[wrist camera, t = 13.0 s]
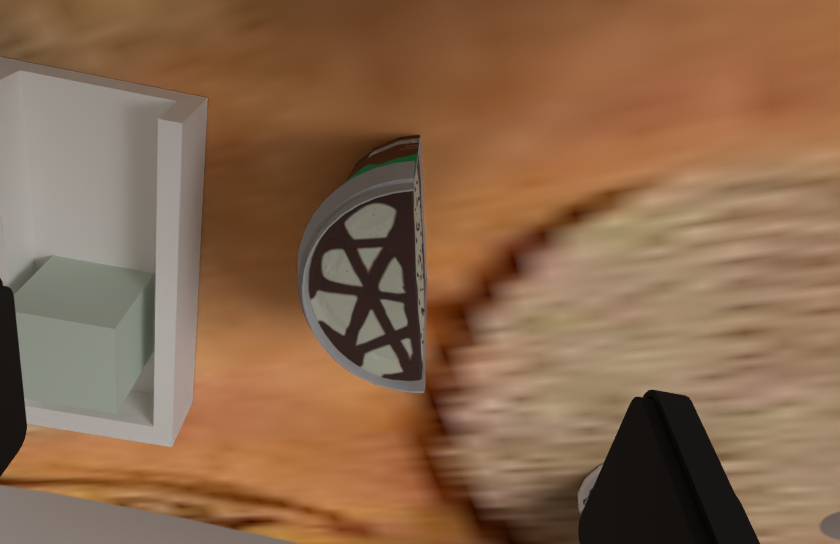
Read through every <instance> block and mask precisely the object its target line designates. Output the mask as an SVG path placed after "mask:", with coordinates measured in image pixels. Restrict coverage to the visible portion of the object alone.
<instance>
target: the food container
mask: <svg viewBox="0 0 840 544" xmlns="http://www.w3.org/2000/svg"><path fill="white" fill-rule="evenodd" d="M297 273H298V288H299V297H300V301H301V306H302V310H303V313H304V315H305V317H306V320H307V322H308V324H309V326H310V328H311V330H312V332H313V334H314V335H315V337H316V338H317V340H318V341H319V343H320V344H321V346H322V347H323V348H324V349H325V350H326V352H327V353H328V354H329V355H330V356H331V357H332V358H333V359H334V360H335V361H336V362H338V363H339V364H340V365H341V366H342V367H344V368H345V369H346V370H348V371H350V372H351V373H353V374H354V375H356V376H358V377H359V378H362V379H364V380H366V381H368V382H371V383H373V384H375V385H378V386H382V387H385V388H388V389H392V390H398V391H404V392H413V393H424V389H425V340H426V295H427V271H426V249H425V227H424V205H423V183H422V161H421V139H420V135H417V136H408V137H400V138H398V139H395V140H393V141H390V142H388V143H385V144H383V145H381V146H378V147H376V148H374V149H373V150H372V151H371V152H370V153H368V154H367V155H366V156H365V157H364V158H363V159H361V160H360V161H359V162H358V163H357V164H356V165H355V167H354V168H353V170H352V172H351V174H350V175H349V177H348V179H347V180H346V182H345V184H343V185H342V186H340V187H338V188H337V189H336V190H335V191H334V192H333V193H332V194H331V195H330V196H329V197H327V198H326V199H325V200H324V201H323V203H322V204H321V205H320V206H319V208H318V209H317V210H316V212H315V213H314V214H313V216H312V217H311V219H310V221H309V223H308V225H307V227H306V229H305V231H304V234H303V237H302V240H301V243H300V246H299V252H298V260H297Z"/></svg>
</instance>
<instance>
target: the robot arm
mask: <svg viewBox="0 0 840 544" xmlns="http://www.w3.org/2000/svg"><path fill="white" fill-rule="evenodd" d="M26 430H27V420H26V410H25V401H24V391H23V381H22V371H21V361H20V351H19V341H18V332H17V322H16V312H15V302H14V295H13V291H12V289H11V288H10V287H8V286H3V282H2V280H1V278H0V476H1V475H2V474H3V472H4V471H5V469H6V468H7V467H8V465H9V464H10V462H11V461H12V460H13V458H14V457H15V455H16V454H17V453H18V451H19V450H20V448H21V446H22V444H23V442H24V439H25V436H26ZM579 541H580V544H760V543H759V541H758V538H757V536H756V534H755V532H754V530H753V528H752V526H751V524H750V521H749V519H748V517H747V515H746V513H745V511H744V509H743V507H742V504H741V503H740V501H739V499H738V498H737V496H736V495H735V493H734V491H733V489H732V487H731V485H730V482H729V480H728V478H727V476H726V474H725V472H724V470H723V467H722V465H721V463H720V461H719V459H718V457H717V455H716V453H715V450H714V448H713V446H712V444H711V442H710V440H709V438H708V435H707V433H706V431H705V429H704V427H703V425H702V423H701V420H700V418H699V416H698V414H697V412H696V410H695V408H694V405H693V403H692V401H691V400H690V399H689V397H687V396H685V395H679V394H674V393H668V392H662V391H657V390H649V391H647V392H646V393H645V394H644V396H643V398H642V397H635V398H634V399H633V400H632V401H631V403H630V405H629V408H628V410H627V412H626V414H625V417H624V419H623V421H622V423H621V426H620V428H619V430H618V432H617V435H616V437H615V439H614V441H613V444H612V446H611V448H610V450H609V453H608V455H607V457H606V459H605V462H604V464H603V466H602V468H601V471H600V473H599V475H598V477H597V480H596V482H595V484H594V486H593V489H592V491H591V493H590V495H589V498H588V500H587V502H586V504H585V507H584V509H583V511H582V514H581V517H580V521H579Z"/></svg>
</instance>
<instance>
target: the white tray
mask: <svg viewBox="0 0 840 544" xmlns="http://www.w3.org/2000/svg"><path fill="white" fill-rule="evenodd" d="M207 108H208V98H207V97H201V96H196V95H191V94H186V93H181V92H176V91H171V90H166V89H161V88H156V87H151V86H146V85H141V84H136V83H131V82H126V81H121V80H116V79H111V78H106V77H100V76H95V75H90V74H85V73H80V72H75V71H70V70H65V69H60V68H55V67H50V66H45V65H40V64H35V63H30V62H25V61H20V60H15V59H10V58H5V57H0V278H1V280H2V282H3V286H8V287H10V288H11V289H12V291H13V295H14V294H15V293H16V292H17V291H18V290H19V289H20V288H21V287H22V286H23V285H24V284H25V283H26V282H27V281H28V280H29V279H30V278H31V277H32V276H33V275H34V274H35V273H36V272H37V271H38V270H39V269H40V268H41V267H42V266H43V265H44V264H45V263H46V262H47V261H48V260H49V259H50V258H51V257H52V256H53V255H55V256H60V257H66V258H71V259H77V260H83V261H88V262H94V263H99V264H105V265H111V266H116V267H122V268H127V269H133V270H139V271H144V272H150V273H154V322H153V353H152V355H151V356H150V358H149V360H148V362H147V363H146V365H145V367H144V368H143V370H142V372H141V373H140V375H139V377H138V378H137V380H136V382H135V384H134V385H133V387H132V389H131V390H130V392H129V394H128V395H127V397H126V399H125V400H124V402H123V404H122V406H121V407H120V409H119V411H118V412H117V414H114V413H108V412H102V411H96V410H90V409H83V408H77V407H71V406H65V405H59V404H53V403H47V402H41V401H35V400H29V399H24V401H25V410H26V420H27V424H32V425H38V426H44V427H50V428H57V429H63V430H69V431H75V432H81V433H88V434H94V435H100V436H106V437H112V438H119V439H125V440H131V441H137V442H143V443H150V444H156V445H162V446H168V447H172V446H173V444H174V441H175V439H176V437H177V435H178V433H179V431H180V428H181V426H182V424H183V422H184V420H185V418H186V415H187V413H188V411H189V409H190V407H191V405H192V402H193V389H194V369H195V349H196V329H197V309H198V289H199V269H200V248H201V228H202V208H203V188H204V168H205V148H206V128H207Z"/></svg>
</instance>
